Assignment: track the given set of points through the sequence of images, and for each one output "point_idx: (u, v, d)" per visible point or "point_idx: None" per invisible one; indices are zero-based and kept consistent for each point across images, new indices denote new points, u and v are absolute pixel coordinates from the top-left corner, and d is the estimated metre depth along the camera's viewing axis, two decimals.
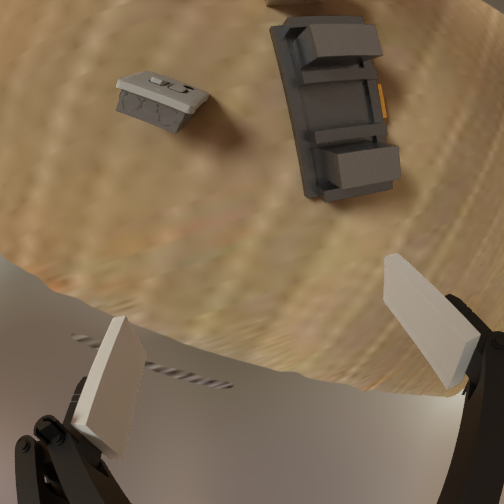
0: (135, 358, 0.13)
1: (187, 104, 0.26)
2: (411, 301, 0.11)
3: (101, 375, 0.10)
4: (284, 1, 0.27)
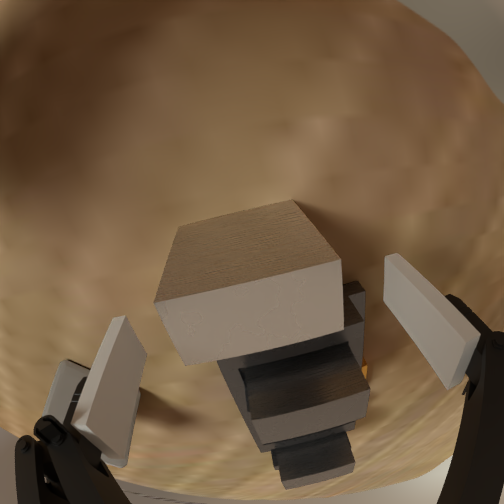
0: (135, 358, 0.13)
1: (118, 465, 0.19)
2: (411, 301, 0.11)
3: (101, 375, 0.10)
4: None
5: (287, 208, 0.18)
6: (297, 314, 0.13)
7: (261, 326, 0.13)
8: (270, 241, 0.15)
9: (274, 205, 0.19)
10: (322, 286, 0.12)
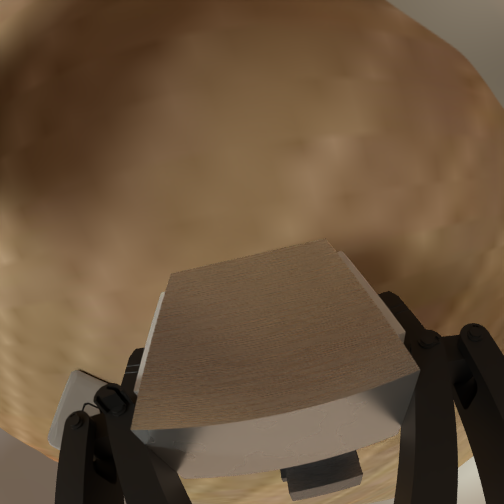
0: None
1: None
2: None
3: None
4: None
5: (322, 254, 0.13)
6: (344, 434, 0.07)
7: (291, 450, 0.07)
8: (306, 322, 0.09)
9: (302, 248, 0.14)
10: (386, 403, 0.07)
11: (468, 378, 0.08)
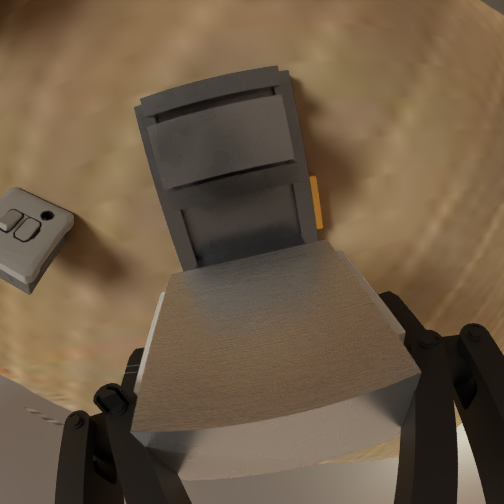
0: None
1: (22, 274, 0.18)
2: None
3: None
4: None
5: (322, 255, 0.13)
6: (345, 436, 0.07)
7: (292, 453, 0.07)
8: (306, 324, 0.09)
9: (302, 249, 0.14)
10: (387, 405, 0.07)
11: (468, 378, 0.08)
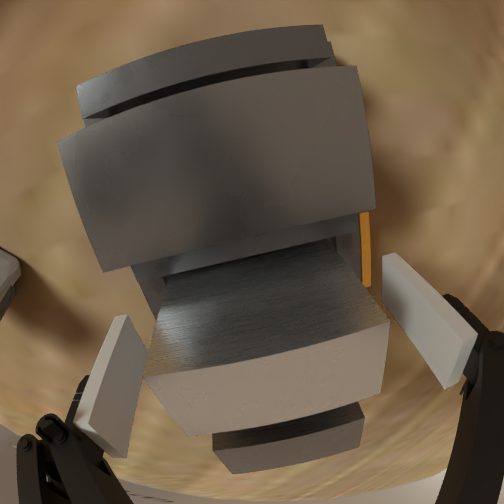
0: (137, 357, 0.13)
1: None
2: (409, 301, 0.11)
3: (103, 374, 0.10)
4: None
5: None
6: (329, 384, 0.09)
7: (282, 400, 0.09)
8: (293, 287, 0.11)
9: None
10: (363, 353, 0.09)
11: None
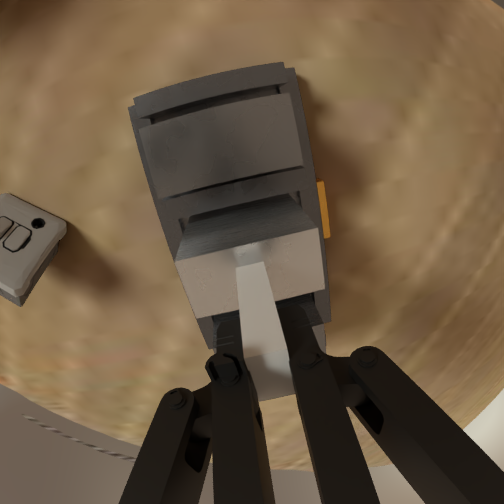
0: None
1: (11, 287, 0.16)
2: None
3: (257, 311, 0.12)
4: None
5: (281, 196, 0.22)
6: (286, 272, 0.17)
7: None
8: (265, 218, 0.19)
9: None
10: (304, 249, 0.16)
11: None
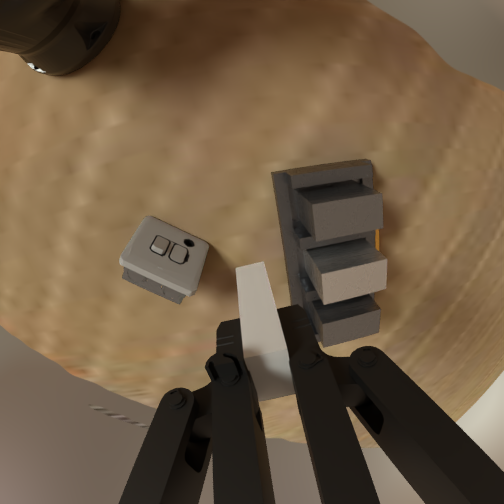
0: None
1: (189, 289, 0.31)
2: None
3: (257, 311, 0.12)
4: None
5: None
6: (370, 280, 0.31)
7: (357, 285, 0.32)
8: (357, 251, 0.34)
9: None
10: (380, 268, 0.31)
11: None
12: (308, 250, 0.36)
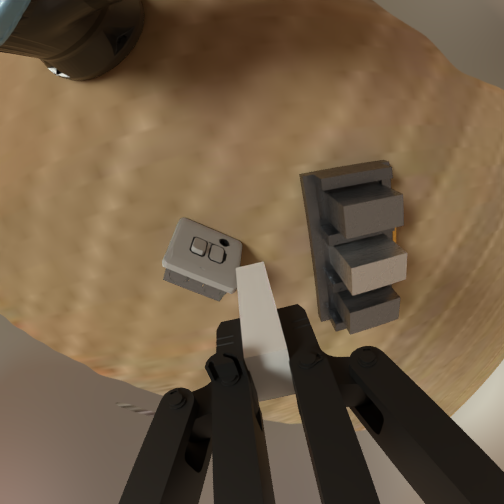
0: None
1: (231, 287, 0.34)
2: None
3: (257, 311, 0.12)
4: None
5: None
6: (393, 272, 0.34)
7: (381, 277, 0.34)
8: (379, 246, 0.36)
9: None
10: (401, 261, 0.34)
11: None
12: (335, 246, 0.39)
